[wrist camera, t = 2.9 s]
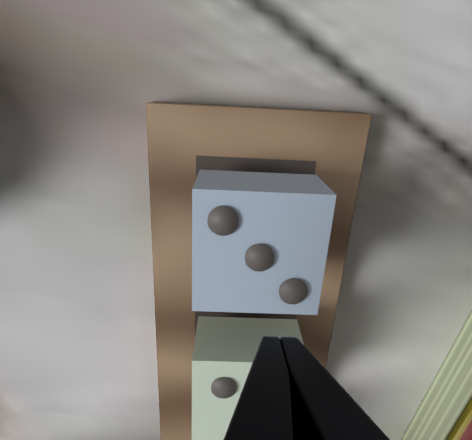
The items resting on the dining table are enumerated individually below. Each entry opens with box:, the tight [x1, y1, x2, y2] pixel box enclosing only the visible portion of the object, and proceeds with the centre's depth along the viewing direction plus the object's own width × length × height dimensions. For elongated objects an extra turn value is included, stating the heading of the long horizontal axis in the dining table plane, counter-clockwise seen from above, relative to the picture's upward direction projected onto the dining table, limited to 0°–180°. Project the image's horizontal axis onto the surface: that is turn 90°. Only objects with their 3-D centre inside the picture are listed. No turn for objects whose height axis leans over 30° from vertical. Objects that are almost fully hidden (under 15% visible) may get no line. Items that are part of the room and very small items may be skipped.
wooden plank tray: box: [146, 102, 372, 440], centre depth 20 cm, size 25×10×2 cm, turn 177°
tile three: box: [192, 170, 337, 315], centre depth 14 cm, size 5×5×3 cm
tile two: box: [192, 316, 304, 440], centre depth 17 cm, size 5×5×3 cm
